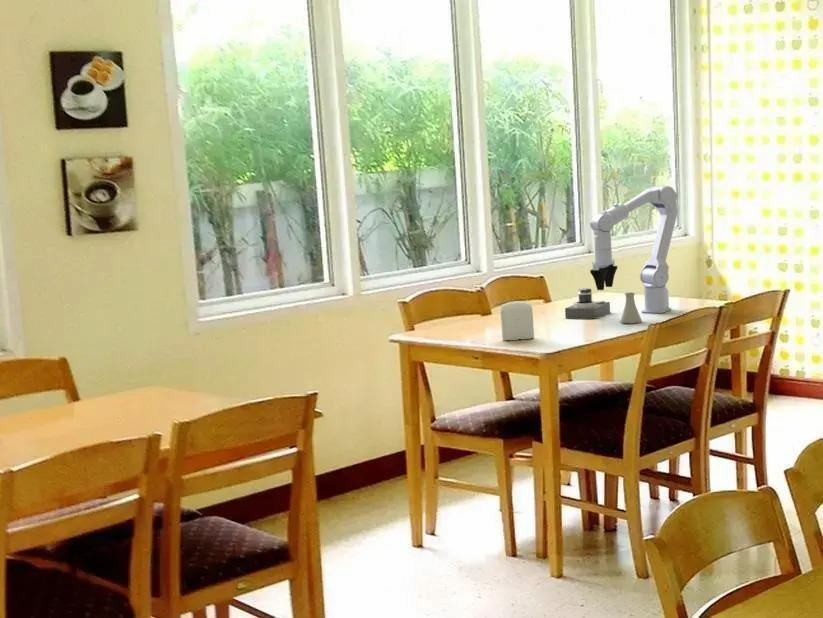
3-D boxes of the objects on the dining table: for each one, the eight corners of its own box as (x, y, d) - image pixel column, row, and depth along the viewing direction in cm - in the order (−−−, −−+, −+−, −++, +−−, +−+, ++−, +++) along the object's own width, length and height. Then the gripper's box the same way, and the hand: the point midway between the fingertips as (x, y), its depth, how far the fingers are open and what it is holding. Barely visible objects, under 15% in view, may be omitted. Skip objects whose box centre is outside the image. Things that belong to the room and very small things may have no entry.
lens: (583, 305, 433) (582, 288, 432) (594, 305, 430) (594, 288, 429) (576, 307, 430) (575, 289, 429) (587, 307, 427) (587, 290, 426)
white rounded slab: (502, 341, 391) (500, 303, 389) (501, 339, 395) (499, 301, 393) (535, 339, 391) (532, 301, 389) (533, 337, 395) (531, 299, 393)
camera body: (581, 311, 441) (581, 298, 440) (610, 312, 435) (609, 298, 434) (565, 318, 429) (564, 304, 429) (594, 318, 423) (593, 304, 423)
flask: (641, 323, 407) (640, 294, 405) (619, 324, 408) (618, 295, 407) (642, 320, 414) (641, 291, 412) (620, 321, 415) (619, 292, 414)
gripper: (600, 247, 428) (602, 285, 430) (583, 251, 416) (585, 291, 418) (619, 246, 424) (621, 285, 426) (603, 251, 412) (604, 291, 414)
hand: (604, 288), depth 422 cm, fingers open, 7 cm apart
